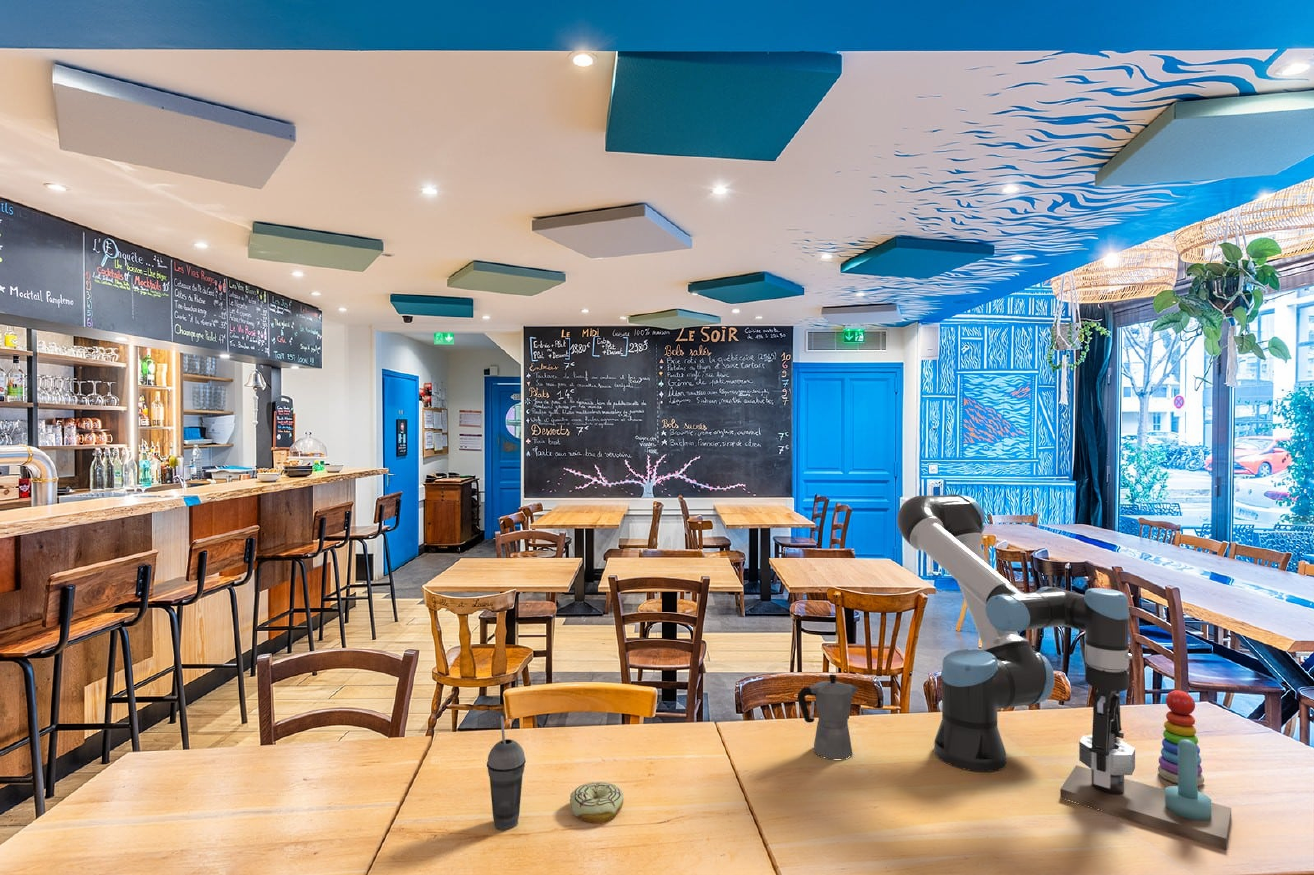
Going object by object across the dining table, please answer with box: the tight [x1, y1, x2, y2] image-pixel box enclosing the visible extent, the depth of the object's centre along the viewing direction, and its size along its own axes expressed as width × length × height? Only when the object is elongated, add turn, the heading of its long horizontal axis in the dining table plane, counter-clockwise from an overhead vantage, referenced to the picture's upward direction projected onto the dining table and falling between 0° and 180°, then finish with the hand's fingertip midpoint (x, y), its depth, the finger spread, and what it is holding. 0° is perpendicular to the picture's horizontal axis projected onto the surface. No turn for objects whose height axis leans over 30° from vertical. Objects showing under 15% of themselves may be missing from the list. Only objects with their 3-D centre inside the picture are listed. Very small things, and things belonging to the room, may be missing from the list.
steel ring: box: [1078, 734, 1136, 776], centre depth 140 cm, size 9×9×4 cm
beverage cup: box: [486, 715, 526, 831], centre depth 130 cm, size 7×7×20 cm
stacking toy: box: [1157, 690, 1205, 787], centre depth 148 cm, size 8×8×19 cm
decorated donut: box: [569, 781, 624, 824], centre depth 135 cm, size 10×11×4 cm
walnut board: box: [1059, 764, 1232, 850], centre depth 136 cm, size 26×14×2 cm, turn 47°
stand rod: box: [1090, 733, 1125, 795], centre depth 140 cm, size 6×6×11 cm
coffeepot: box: [797, 674, 860, 760], centre depth 160 cm, size 15×9×18 cm, turn 103°
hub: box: [1164, 739, 1212, 821], centre depth 131 cm, size 7×7×14 cm
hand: (1106, 776), depth 140 cm, fingers closed on steel ring, 9 cm apart
